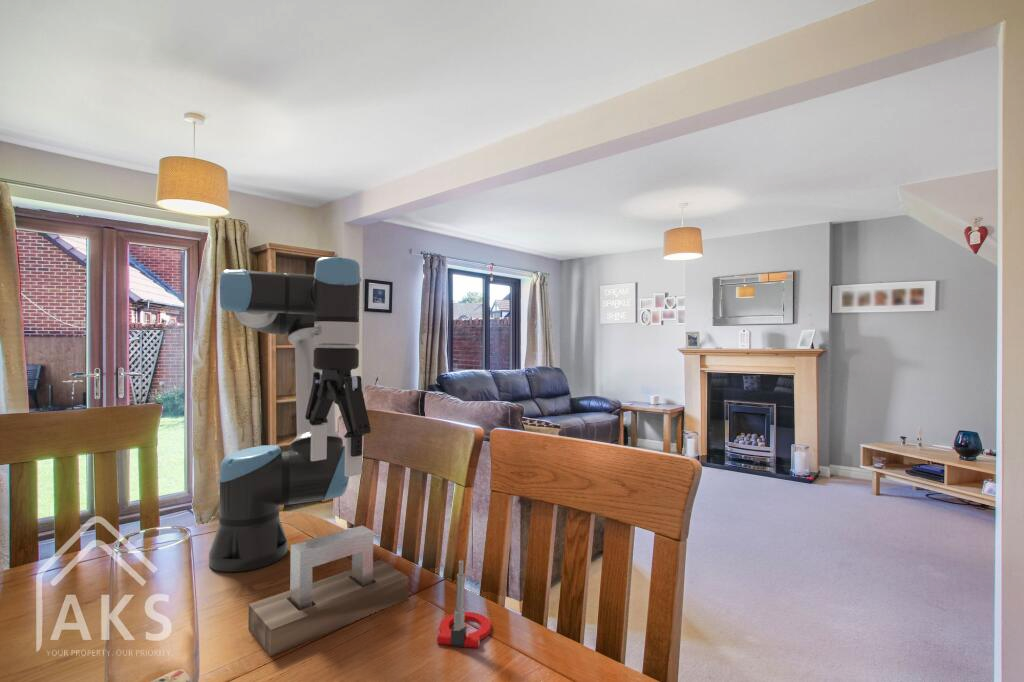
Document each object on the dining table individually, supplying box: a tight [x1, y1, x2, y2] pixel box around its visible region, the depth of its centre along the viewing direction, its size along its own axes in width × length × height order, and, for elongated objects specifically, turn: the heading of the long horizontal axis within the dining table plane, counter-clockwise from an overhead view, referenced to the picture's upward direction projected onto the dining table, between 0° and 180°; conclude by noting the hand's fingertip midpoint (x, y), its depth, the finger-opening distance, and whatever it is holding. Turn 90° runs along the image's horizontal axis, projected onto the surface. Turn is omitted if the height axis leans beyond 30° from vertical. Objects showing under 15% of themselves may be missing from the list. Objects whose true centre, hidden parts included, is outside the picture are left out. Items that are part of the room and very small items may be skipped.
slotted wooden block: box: [247, 559, 409, 657], centre depth 86 cm, size 10×24×4 cm, turn 135°
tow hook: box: [436, 559, 492, 649], centre depth 81 cm, size 8×13×9 cm
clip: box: [289, 525, 374, 611], centre depth 86 cm, size 4×13×13 cm, turn 135°
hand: (335, 467), depth 87 cm, fingers open, 13 cm apart
